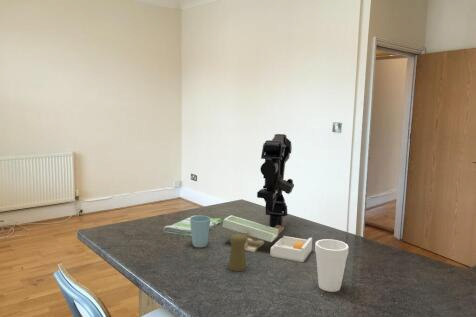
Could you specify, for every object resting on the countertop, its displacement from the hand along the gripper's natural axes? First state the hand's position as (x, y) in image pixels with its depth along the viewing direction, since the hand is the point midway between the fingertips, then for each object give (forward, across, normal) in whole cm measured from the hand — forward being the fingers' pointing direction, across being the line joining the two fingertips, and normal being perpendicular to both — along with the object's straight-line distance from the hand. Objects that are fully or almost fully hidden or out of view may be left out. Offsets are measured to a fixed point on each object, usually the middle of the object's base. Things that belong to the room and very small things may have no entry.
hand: (270, 211), depth 152 cm
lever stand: (+11, -10, +5) cm, 16 cm away
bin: (+11, -11, -12) cm, 20 cm away
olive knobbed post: (+12, -31, +2) cm, 33 cm away
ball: (+9, -11, -14) cm, 20 cm away
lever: (+6, -6, +5) cm, 9 cm away
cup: (+12, -18, +22) cm, 31 cm away
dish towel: (+12, +1, +35) cm, 37 cm away
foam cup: (+12, -32, -28) cm, 44 cm away
